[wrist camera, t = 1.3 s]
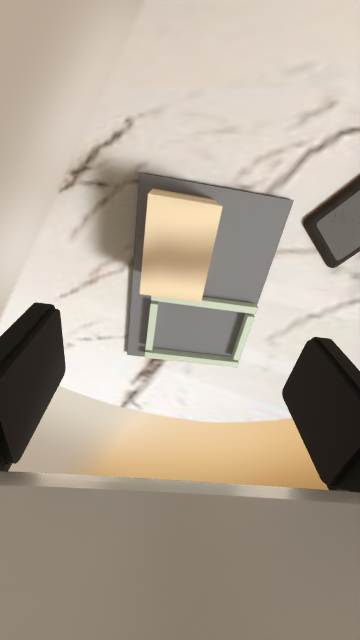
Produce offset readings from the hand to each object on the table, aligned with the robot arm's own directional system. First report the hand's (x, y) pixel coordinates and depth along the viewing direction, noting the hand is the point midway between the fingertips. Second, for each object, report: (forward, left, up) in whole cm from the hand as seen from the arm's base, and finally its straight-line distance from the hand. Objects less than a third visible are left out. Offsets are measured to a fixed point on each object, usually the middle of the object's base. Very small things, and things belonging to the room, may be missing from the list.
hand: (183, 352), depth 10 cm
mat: (+5, +3, -18) cm, 19 cm away
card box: (0, 0, -18) cm, 18 cm away
